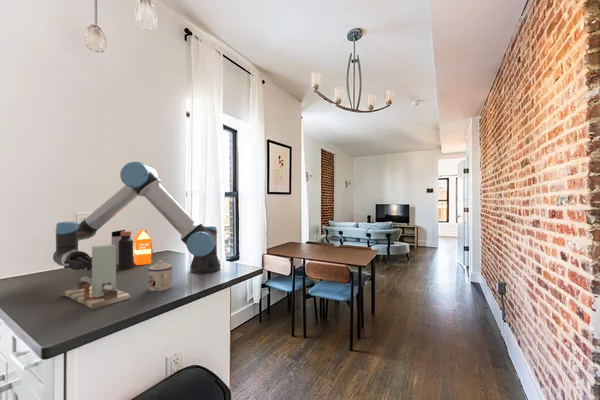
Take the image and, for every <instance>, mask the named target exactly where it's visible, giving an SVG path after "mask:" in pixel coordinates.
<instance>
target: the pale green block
mask: <svg viewBox="0 0 600 400" xmlns="http://www.w3.org/2000/svg"><path fill="white" fill-rule="evenodd" d="M91 257H92V268H91V279H92V296H94V297H101V296H104V292H108V291H107V290H104V289H102V284H105V283H106V284H108V285H111V286H114V290H116V289H117V279H116V278H117V266H116V245H112V243H111V244H104V245H103V244H102V245H97V246H96V245H95V246H91Z"/></svg>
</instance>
